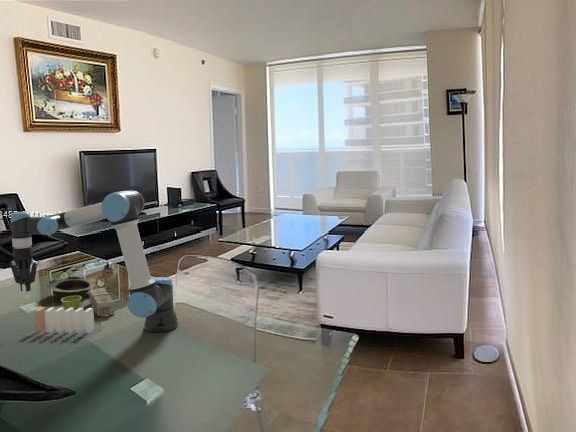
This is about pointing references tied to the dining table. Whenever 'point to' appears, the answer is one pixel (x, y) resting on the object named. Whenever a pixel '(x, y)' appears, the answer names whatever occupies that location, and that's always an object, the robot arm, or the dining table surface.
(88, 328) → the domino
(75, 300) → the plant pot
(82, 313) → the domino
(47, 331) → the domino
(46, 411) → the dining table surface
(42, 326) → the domino
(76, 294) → the stone bowl
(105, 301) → the block tower
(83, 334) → the felt runner
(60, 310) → the domino
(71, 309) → the domino
